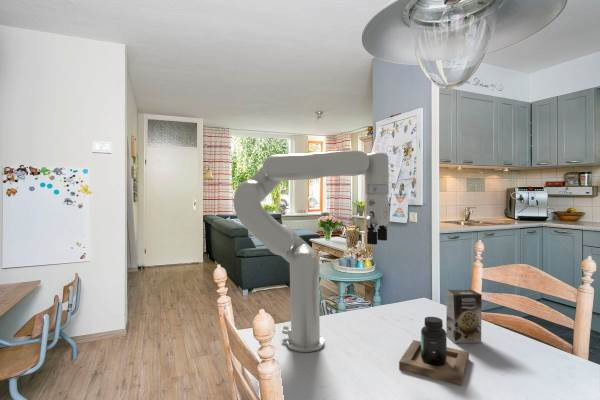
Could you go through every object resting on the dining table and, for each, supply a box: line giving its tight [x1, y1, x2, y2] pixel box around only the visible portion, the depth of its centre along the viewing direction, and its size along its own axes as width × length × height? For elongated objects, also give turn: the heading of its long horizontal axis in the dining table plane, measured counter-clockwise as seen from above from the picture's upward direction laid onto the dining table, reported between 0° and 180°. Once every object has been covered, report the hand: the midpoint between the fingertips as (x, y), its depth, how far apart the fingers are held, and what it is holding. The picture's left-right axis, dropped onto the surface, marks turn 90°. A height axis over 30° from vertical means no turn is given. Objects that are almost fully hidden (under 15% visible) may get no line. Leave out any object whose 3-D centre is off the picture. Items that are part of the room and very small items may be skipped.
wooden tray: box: [398, 339, 470, 387], centre depth 98 cm, size 16×16×2 cm
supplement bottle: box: [420, 316, 448, 366], centre depth 97 cm, size 7×7×12 cm
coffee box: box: [445, 289, 483, 344], centre depth 113 cm, size 9×6×16 cm
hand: (377, 242), depth 112 cm, fingers open, 9 cm apart
